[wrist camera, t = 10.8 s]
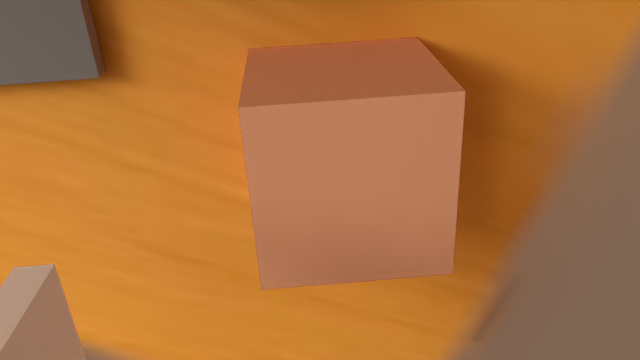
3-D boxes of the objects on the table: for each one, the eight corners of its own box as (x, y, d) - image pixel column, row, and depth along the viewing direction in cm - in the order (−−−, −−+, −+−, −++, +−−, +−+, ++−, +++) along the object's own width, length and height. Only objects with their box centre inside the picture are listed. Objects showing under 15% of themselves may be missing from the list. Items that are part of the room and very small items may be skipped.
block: (265, 195, 23) (261, 289, 18) (248, 47, 20) (238, 107, 15) (412, 183, 23) (452, 274, 18) (416, 36, 20) (465, 91, 15)
